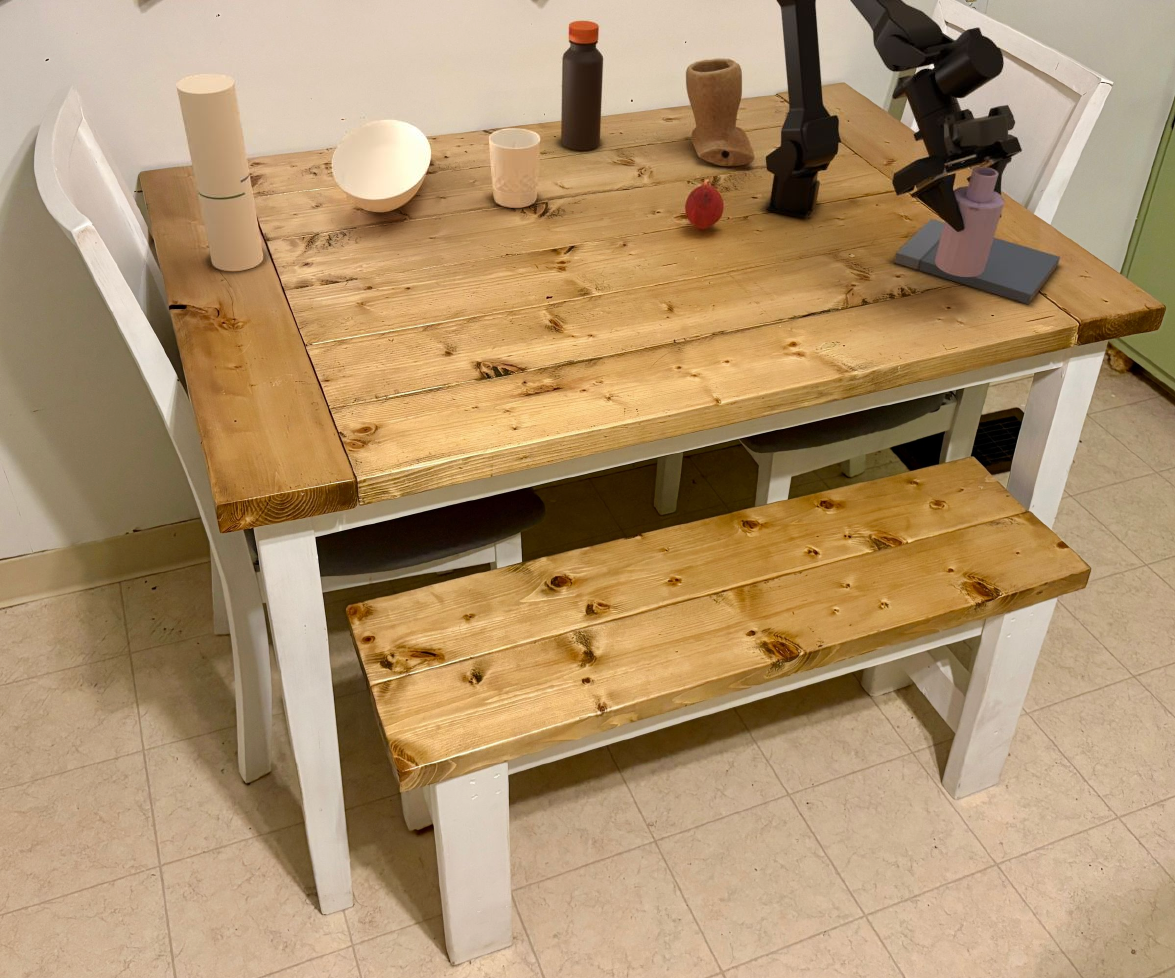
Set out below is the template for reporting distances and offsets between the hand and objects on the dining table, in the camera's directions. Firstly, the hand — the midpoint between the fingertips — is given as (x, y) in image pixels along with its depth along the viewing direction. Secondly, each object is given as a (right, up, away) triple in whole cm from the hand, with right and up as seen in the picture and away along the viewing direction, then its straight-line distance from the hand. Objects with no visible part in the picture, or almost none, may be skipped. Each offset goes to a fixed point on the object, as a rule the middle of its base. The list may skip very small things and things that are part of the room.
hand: (979, 224), depth 149 cm
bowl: (-84, +12, +29) cm, 90 cm away
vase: (-1, -4, +5) cm, 7 cm away
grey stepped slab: (+6, -2, +17) cm, 18 cm away
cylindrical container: (-102, -2, +12) cm, 102 cm away
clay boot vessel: (-30, +23, +46) cm, 60 cm away
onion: (-34, +5, +23) cm, 42 cm away
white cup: (-63, +11, +29) cm, 71 cm away
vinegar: (-53, +25, +47) cm, 75 cm away
